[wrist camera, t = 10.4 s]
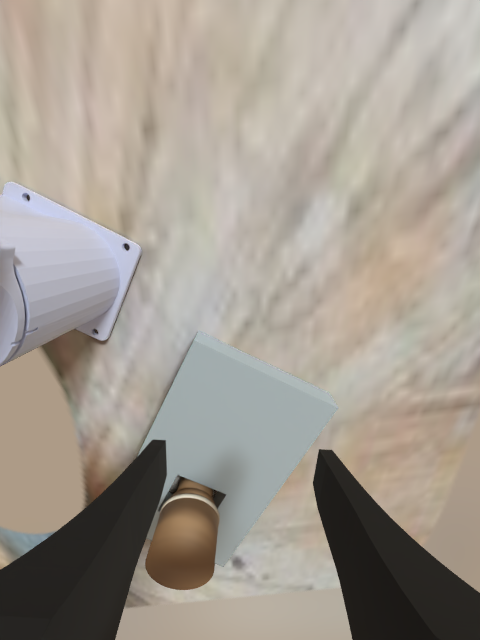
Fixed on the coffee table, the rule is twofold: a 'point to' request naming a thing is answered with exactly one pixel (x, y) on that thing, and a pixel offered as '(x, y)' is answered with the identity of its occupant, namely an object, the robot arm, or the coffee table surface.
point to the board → (236, 432)
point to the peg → (185, 538)
